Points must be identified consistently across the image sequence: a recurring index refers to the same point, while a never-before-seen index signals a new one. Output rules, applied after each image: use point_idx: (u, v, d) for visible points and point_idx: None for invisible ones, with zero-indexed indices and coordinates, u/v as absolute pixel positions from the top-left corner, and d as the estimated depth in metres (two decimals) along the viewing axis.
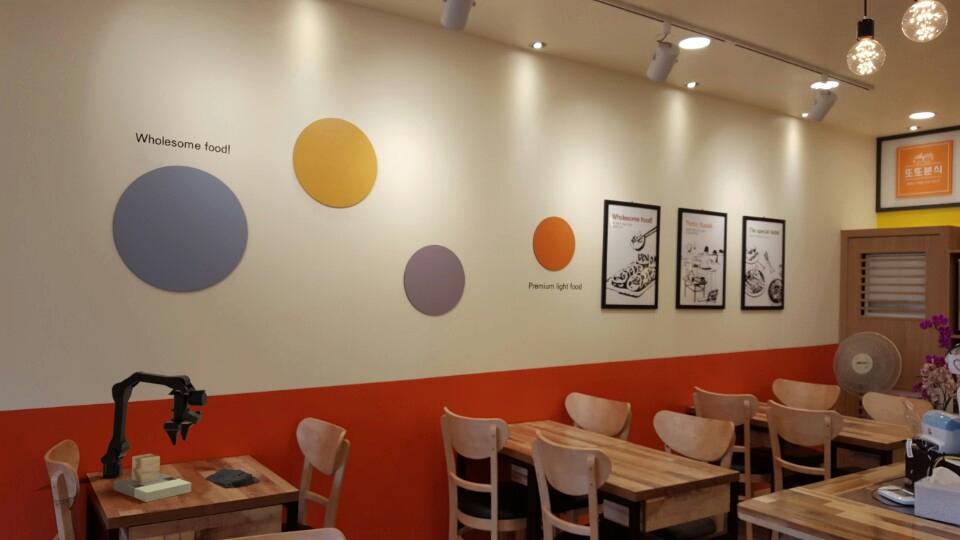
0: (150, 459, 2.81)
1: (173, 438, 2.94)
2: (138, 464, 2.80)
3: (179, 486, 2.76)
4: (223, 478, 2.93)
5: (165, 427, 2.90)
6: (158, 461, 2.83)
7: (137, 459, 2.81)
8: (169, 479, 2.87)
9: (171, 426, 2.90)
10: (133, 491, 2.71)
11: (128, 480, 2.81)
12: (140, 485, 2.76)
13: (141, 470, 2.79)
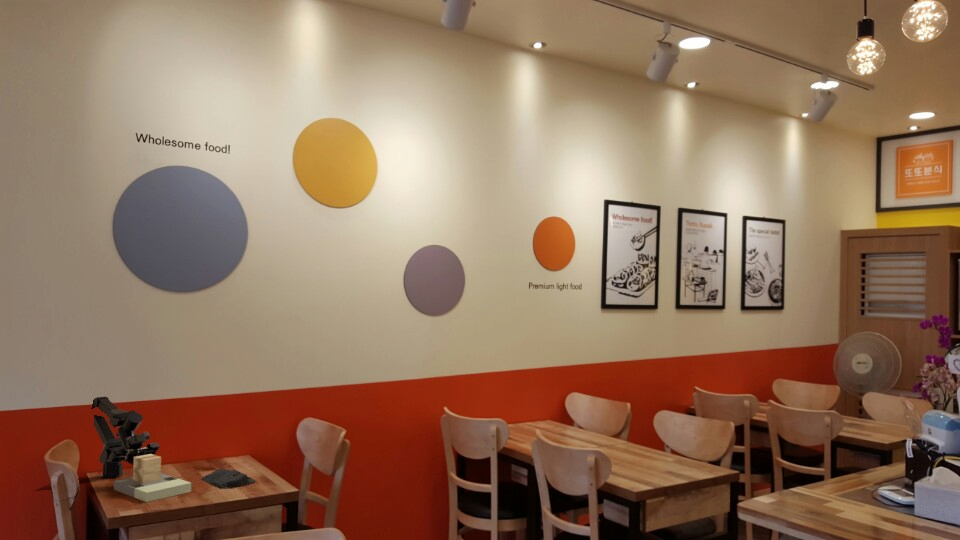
0: (151, 459, 2.80)
1: None
2: (139, 465, 2.80)
3: (179, 486, 2.76)
4: (218, 478, 2.92)
5: (109, 459, 2.82)
6: (159, 461, 2.83)
7: (138, 459, 2.80)
8: (169, 479, 2.87)
9: (111, 455, 2.82)
10: (133, 491, 2.71)
11: (128, 480, 2.81)
12: (140, 485, 2.76)
13: (142, 470, 2.78)
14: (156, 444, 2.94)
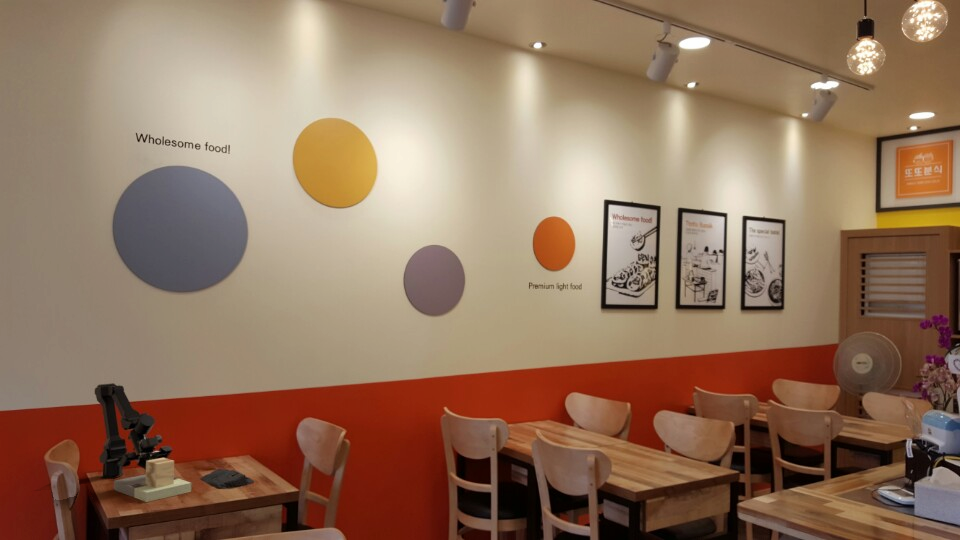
0: (164, 463, 2.75)
1: None
2: (152, 469, 2.74)
3: (179, 486, 2.76)
4: (217, 478, 2.92)
5: (121, 463, 2.77)
6: (172, 465, 2.77)
7: (151, 463, 2.75)
8: None
9: (123, 459, 2.76)
10: (133, 491, 2.71)
11: (128, 480, 2.81)
12: (140, 485, 2.76)
13: (155, 475, 2.72)
14: (168, 447, 2.89)
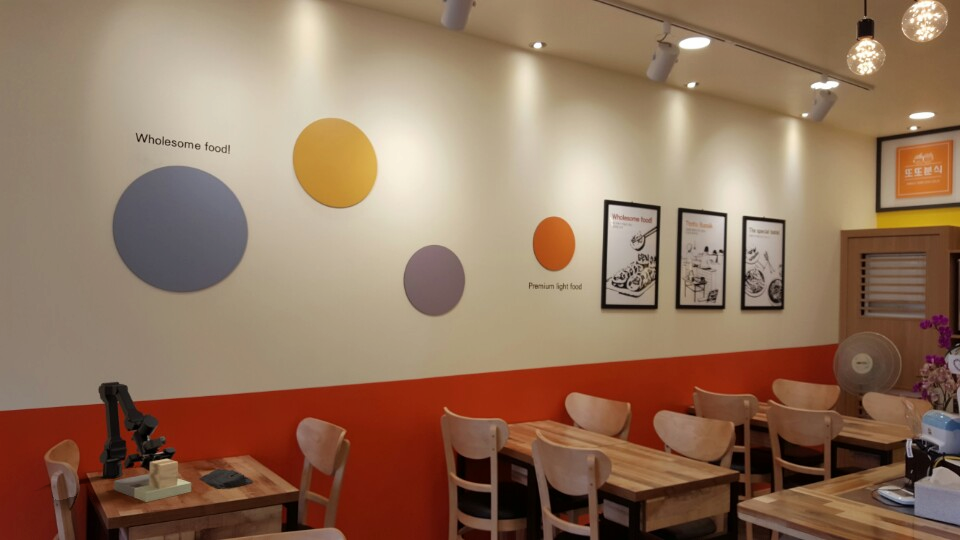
0: (168, 465, 2.73)
1: None
2: (156, 470, 2.72)
3: (179, 486, 2.76)
4: (216, 479, 2.92)
5: (125, 465, 2.75)
6: (176, 466, 2.75)
7: (155, 465, 2.73)
8: None
9: (127, 460, 2.74)
10: (133, 491, 2.71)
11: (128, 480, 2.81)
12: (140, 485, 2.76)
13: (159, 476, 2.71)
14: (172, 449, 2.87)
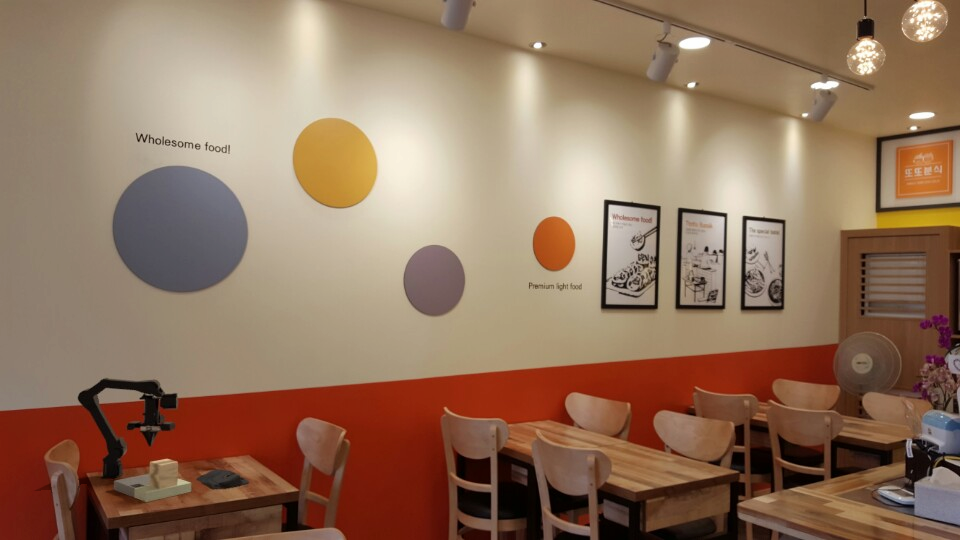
0: (168, 465, 2.73)
1: (153, 439, 3.04)
2: (156, 470, 2.72)
3: (179, 486, 2.76)
4: (212, 479, 2.92)
5: (170, 428, 3.02)
6: (176, 466, 2.75)
7: (155, 465, 2.73)
8: None
9: (173, 426, 3.04)
10: (133, 491, 2.71)
11: (128, 480, 2.81)
12: (140, 485, 2.76)
13: (159, 476, 2.71)
14: None
